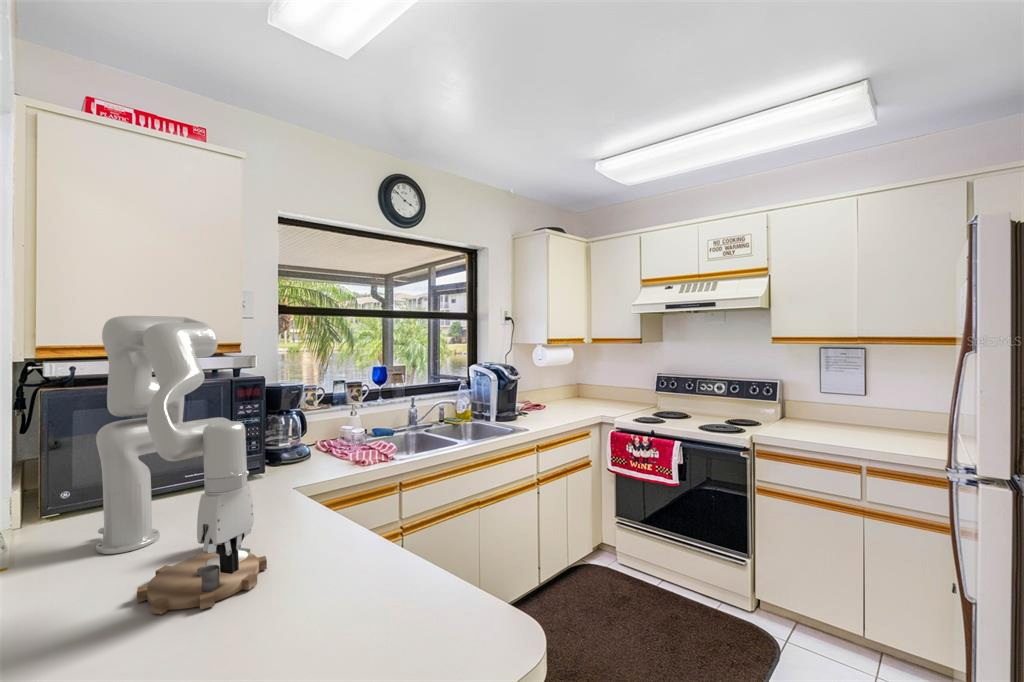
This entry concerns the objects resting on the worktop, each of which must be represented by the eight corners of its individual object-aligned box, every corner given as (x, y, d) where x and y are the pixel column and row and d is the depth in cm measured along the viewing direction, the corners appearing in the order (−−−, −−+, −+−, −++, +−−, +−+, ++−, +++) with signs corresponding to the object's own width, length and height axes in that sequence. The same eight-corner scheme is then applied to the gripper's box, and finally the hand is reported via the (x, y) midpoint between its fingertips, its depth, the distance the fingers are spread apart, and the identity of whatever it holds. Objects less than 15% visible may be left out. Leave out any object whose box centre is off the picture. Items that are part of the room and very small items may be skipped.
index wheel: (183, 558, 112) (182, 533, 112) (283, 554, 113) (282, 529, 113) (107, 616, 89) (106, 585, 89) (233, 610, 91) (233, 579, 90)
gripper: (241, 471, 105) (244, 553, 106) (177, 493, 91) (181, 588, 91) (269, 473, 103) (272, 556, 104) (208, 495, 89) (212, 592, 89)
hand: (229, 571), depth 97 cm, fingers closed
